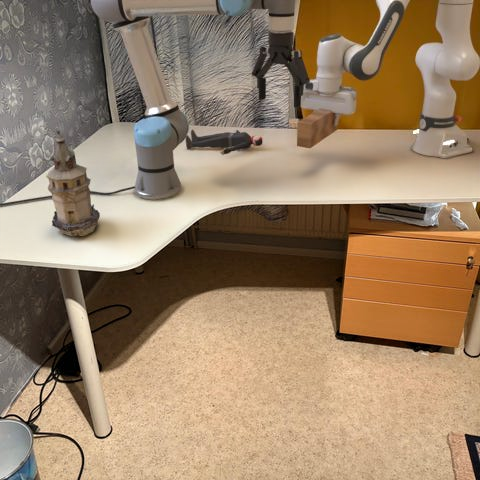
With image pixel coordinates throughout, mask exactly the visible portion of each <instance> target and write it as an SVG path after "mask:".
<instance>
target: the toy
mask: <svg viewBox="0 0 480 480" xmlns="http://www.w3.org/2000/svg"><path fill="white" fill-rule="evenodd" d="M233 131H234V132H229V131H225V132H220V133H219V132H218V133H214V134H208V135H201V136H198V135H197V134H196V132H195V130H194V129H191V130H190V136H189V135H188V134H187V136H186V138H185V147H186V149H187V150H191V149H194V148H198V149H199V148H200V149H204V148H211V149H215V148H216V149H217V148H220V149H221V150H219V151H220V152H219V153H220V155H221V156H224V155H228V154H230V153H232V152H235V151H239V150H241V151H247V150H248V151H249V149H250V148H251V147H252V145H253V146H255V147H260V146H262V145H263V142H264V141H263V137H262V136H261V135H253V136H251V135H250V134H249V133H248V132H247V131H242V132H241V131H239V129H234V130H233ZM190 137H191V138H190Z"/></svg>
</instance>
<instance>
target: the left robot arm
mask: <svg viewBox="0 0 480 480" xmlns="http://www.w3.org/2000/svg"><path fill="white" fill-rule="evenodd" d="M90 5H91V8H92V10H93V12H94V14H95V15H96V16H97V18H99V19H100V20H102V21H104V22H107V23H111V24H112V26H113V30H114V31H115V32H117V33H119V34H120V35H121V38H122V42H123V44H124V47H125V50H126V52H127V56H128V59H129V61H130V64H131V66H132V69H133V72H134V75H135V78H136V81H137V83H138V86H139V88H140V93H141V94H142V97H143V100H144V103H145V106H146V109H145V111H144V117H145V118H142V119H139V120H138V121H137V123H135V125H134V127H133V139H134V144H135V154H136V161H137V175H136V179H135V184H134V186H130V187H126V188H122V189H121V188H120V189H118V190H115V191H111V192H101V191H95V190H94V191H93V190H90V191H91V192H90V194H94V195H102V196H110V195H115V194H119V193H122V192H126V191H130V190H134V193H135V195H136V196H137V197H138V198H141V199H143V200H148V201H161V200H168V199H171V198H174V197H176V196H178V195H179V194H180V193H181V192H182V182H181V180H180V177H179V176H178V173H177V171H176V169H175V161H174V160H175V159H174V158H175V157H174V151H175V149H176V148H177V147H179V145H181V144H182V143H183V142H184V141H185V140H186V136H187V135H188V133H189V131H190V121H189V118H188V117H187V115H186V114H185V113H184V112H183V111H181V109H180V106H179V104H178V102H176V101H175V100H173V99H172V97H171V95H170V94H171V93H170V91H169V88H168V85H167V82H166V78H165V75H164V73H163V70H162V67H161V64H160V61H159V58H158V55H157V51H156V49H155V45H154V43H153V40H152V37H151V34H150V31H149V28H148V24H149V21H150V19H151V18H150V17H170V16H171V17H173V16H175V17H176V16H214V15H215V16H217V15H219V16H229V17H240V16H243V15H244V14H246V13H247V12H248V11H250V10H268V21H267V22H268V24H267V25H268V27H267V29H268V35H267V36H268V37H267V44H268V45H262V46H260V48H259V55H258V57H257V60H256V62H255V64H254V66H253V70H252V72H251V76H253V77H255V78H256V87H257V89H258V101H263V100H266V97H267V77H266V75H267V73H268V72H269V71H270V69H271V68H272V66H274V64H275V65H280V66H281V65H282V66H284V67H285V68H287V70H288V72H289V73H290V75H291V77H292V79H293V81H294V82H295V85H294V87H293V88H294V90H293V108H298V107H301V96H303V90H304V84H307V83H309V82H310V80H311V79H310V76H309V74H308V71H307V67H306V65H305V62H304V59H303V51H302V50H301V49H298V50H293V47H294V41H295V40H294V37H295V35H294V31H293V30H294V29H295V8H296V7H295V5H296V0H90ZM268 55H269V57H268V58H267V56H268ZM266 58H267V59H266ZM45 199H46V200H47V199H52V194H51V195H46V196H39V197H38V196H37V197H33V198H25V199H19V200H14V201H9V202H1V203H0V207H3V206H8V205H15V204H20V203H21V204H22V203H27V202H33V201H39V200H40V201H41V200H45Z"/></svg>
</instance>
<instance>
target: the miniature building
mask: <svg viewBox="0 0 480 480" xmlns="http://www.w3.org/2000/svg"><path fill="white" fill-rule="evenodd" d="M56 134H57V136H56V138H55V140H54V141H55V142H56V147H55V154H54V156H52V157H51V161H52V162H53V165H54V167H53V168H51V169H50V170H49V171H48V173H47V174H46V178H47V179H48V182H49V184H48V186H47V190H48V191H49V193H50V194H51V195H52V198H51V200H52V201H53V205H54V209H55V211H53V217H52V220H51V223H52V225H51V227H54V228H56V229H58V230H59V231H60V234H63V235H64V234H65V235H66V236H69V237H77V236H80V237H83V236H87V235H88V234H90V233H93V232H94V231H95V229H96V226H97V225H98V223H99V220H100V216H101V213H100V212H99V210H98V209H96V208H95V204H92V201H91V200H92V199H91V198H92V197H91V193H90V192H91V191H92V190H91V188H90V184H91V178H89V177H88V174H87V167H85V166H84V165H83V166H82V165H80V164H77V160H76V154H75V151H74V150H70V149H69V147H68V145H67V143H66V138H65V137H64V136H63V135H61V130H60V129H56Z"/></svg>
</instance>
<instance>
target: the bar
mask: <svg viewBox="0 0 480 480" xmlns="http://www.w3.org/2000/svg"><path fill="white" fill-rule="evenodd" d="M336 117H337V116H336V113H332V111H328V110H321V109H319V110H317V111H315V112H314V113H313V112H311V113H310V114H308V115H307V116H305V117H303V118H301V119H300V120H298V121H297V122H296V123H297V125H296V147H300V148H306V149H312V148H313V147H315V146H316V145H317V144H319V143H321V142H322V141H324V140H325V139H326V138H328V137H329V136H331V135H332V134H334V133H335V132H336V131H337V130H338V128H339V124H338V125H332V123H333V120H334V119H336Z"/></svg>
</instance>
